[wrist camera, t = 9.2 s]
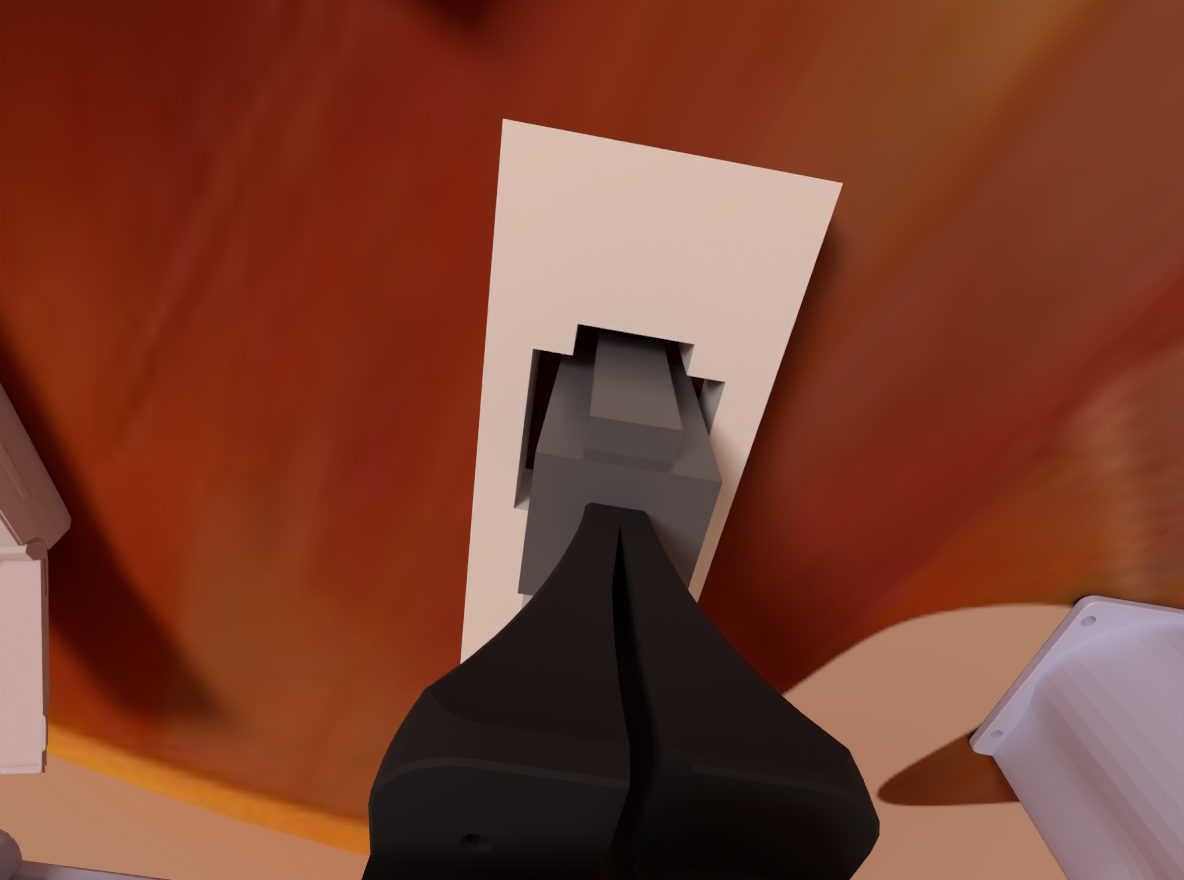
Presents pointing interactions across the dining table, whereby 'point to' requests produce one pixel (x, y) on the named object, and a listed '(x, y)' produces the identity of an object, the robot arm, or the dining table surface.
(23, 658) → the mobile phone
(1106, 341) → the dining table surface
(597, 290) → the power strip
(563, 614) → the robot arm
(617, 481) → the plug
